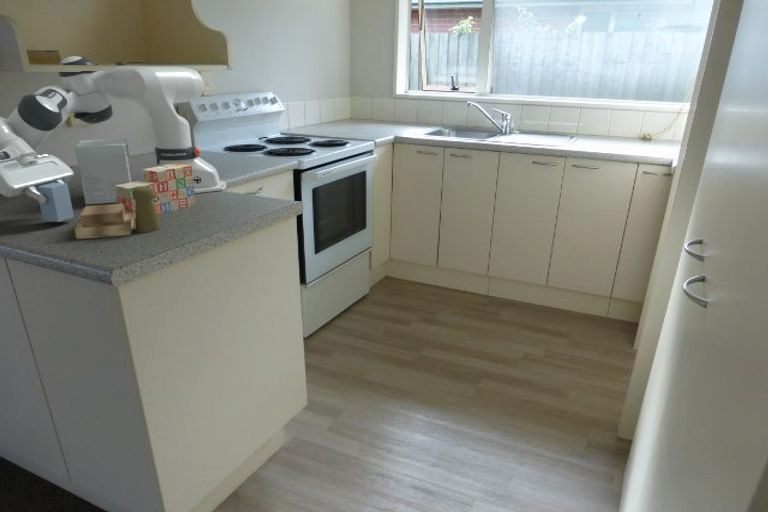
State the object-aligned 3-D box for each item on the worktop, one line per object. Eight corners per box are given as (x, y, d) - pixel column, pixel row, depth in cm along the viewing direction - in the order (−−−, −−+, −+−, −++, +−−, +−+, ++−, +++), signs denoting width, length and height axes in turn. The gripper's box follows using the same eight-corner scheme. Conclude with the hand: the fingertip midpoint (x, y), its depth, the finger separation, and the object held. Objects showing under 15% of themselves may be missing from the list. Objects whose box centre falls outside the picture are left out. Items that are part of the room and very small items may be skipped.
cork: (132, 228, 136) (125, 186, 132) (155, 223, 140) (149, 183, 136) (141, 233, 132) (134, 191, 128) (164, 229, 136) (159, 187, 132)
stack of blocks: (133, 222, 142) (126, 177, 137) (119, 218, 145) (112, 174, 140) (196, 205, 159) (191, 164, 155) (182, 202, 162) (177, 162, 158)
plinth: (133, 221, 142) (130, 201, 140) (130, 234, 131) (127, 213, 129) (83, 225, 138) (79, 205, 136) (76, 239, 127) (72, 217, 125)
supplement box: (135, 192, 172) (127, 138, 166) (133, 201, 161) (124, 144, 155) (90, 194, 168) (80, 139, 162) (85, 205, 156) (73, 146, 150)
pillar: (58, 215, 141) (51, 182, 138) (74, 216, 140) (67, 183, 137) (43, 220, 137) (35, 186, 134) (58, 221, 136) (51, 187, 133)
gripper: (45, 160, 146) (81, 197, 147) (-25, 174, 127) (17, 216, 129) (55, 145, 143) (92, 182, 145) (-15, 157, 125) (28, 200, 126)
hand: (56, 198), depth 136 cm, fingers closed on pillar, 5 cm apart
